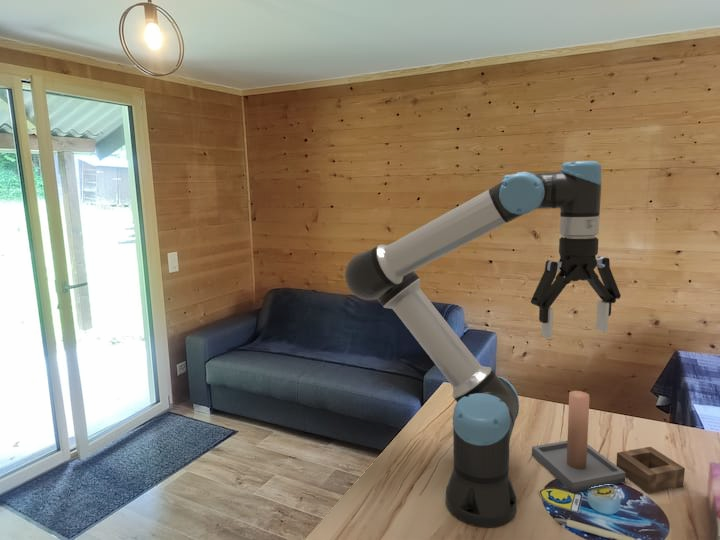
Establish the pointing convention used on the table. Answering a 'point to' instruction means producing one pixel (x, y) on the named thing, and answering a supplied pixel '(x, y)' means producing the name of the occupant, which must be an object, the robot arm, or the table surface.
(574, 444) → the dowel
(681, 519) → the table surface
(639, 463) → the socket block
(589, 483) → the tray
